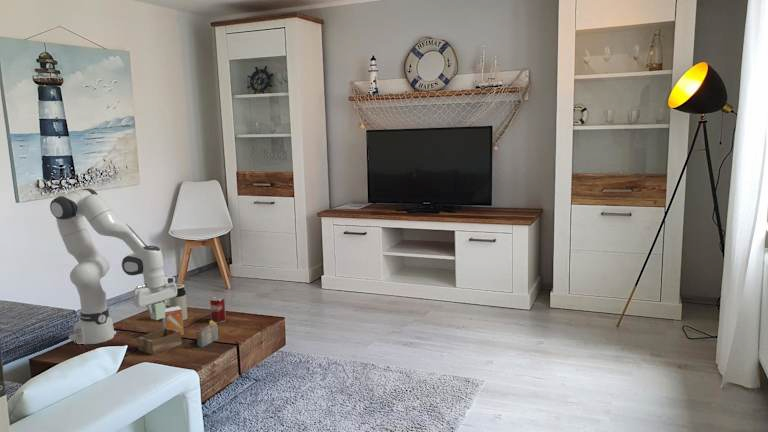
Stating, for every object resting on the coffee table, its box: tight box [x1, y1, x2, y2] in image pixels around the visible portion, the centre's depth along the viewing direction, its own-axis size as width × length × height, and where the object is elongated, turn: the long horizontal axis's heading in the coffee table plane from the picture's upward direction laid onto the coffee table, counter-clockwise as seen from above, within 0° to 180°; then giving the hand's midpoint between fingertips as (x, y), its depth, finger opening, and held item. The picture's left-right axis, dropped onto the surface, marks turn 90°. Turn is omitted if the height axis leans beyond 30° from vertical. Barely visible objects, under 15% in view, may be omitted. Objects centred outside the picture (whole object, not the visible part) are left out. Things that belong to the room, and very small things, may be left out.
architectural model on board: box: [195, 319, 219, 348], centre depth 272 cm, size 11×3×10 cm, turn 157°
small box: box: [162, 306, 185, 336], centre depth 283 cm, size 8×6×13 cm
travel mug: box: [169, 283, 188, 322], centre depth 305 cm, size 8×8×18 cm
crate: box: [136, 328, 183, 356], centre depth 268 cm, size 11×15×6 cm
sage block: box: [149, 301, 166, 321], centre depth 266 cm, size 4×4×7 cm
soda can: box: [209, 296, 227, 324], centre depth 302 cm, size 7×7×12 cm
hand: (157, 311), depth 266 cm, fingers closed on sage block, 4 cm apart
